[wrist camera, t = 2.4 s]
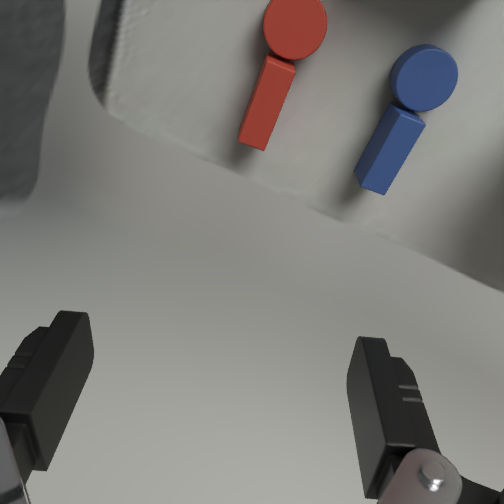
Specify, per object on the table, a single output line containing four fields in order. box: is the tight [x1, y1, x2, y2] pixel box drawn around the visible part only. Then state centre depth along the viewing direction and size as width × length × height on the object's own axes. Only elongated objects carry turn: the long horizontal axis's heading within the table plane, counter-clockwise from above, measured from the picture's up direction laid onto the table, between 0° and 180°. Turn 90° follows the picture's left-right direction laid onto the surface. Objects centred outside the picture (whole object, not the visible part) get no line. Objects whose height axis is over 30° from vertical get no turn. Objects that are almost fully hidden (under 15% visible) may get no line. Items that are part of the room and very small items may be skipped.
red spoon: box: [238, 0, 327, 151], centre depth 24 cm, size 8×3×2 cm, turn 160°
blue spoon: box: [354, 44, 458, 195], centre depth 25 cm, size 8×3×2 cm, turn 160°
